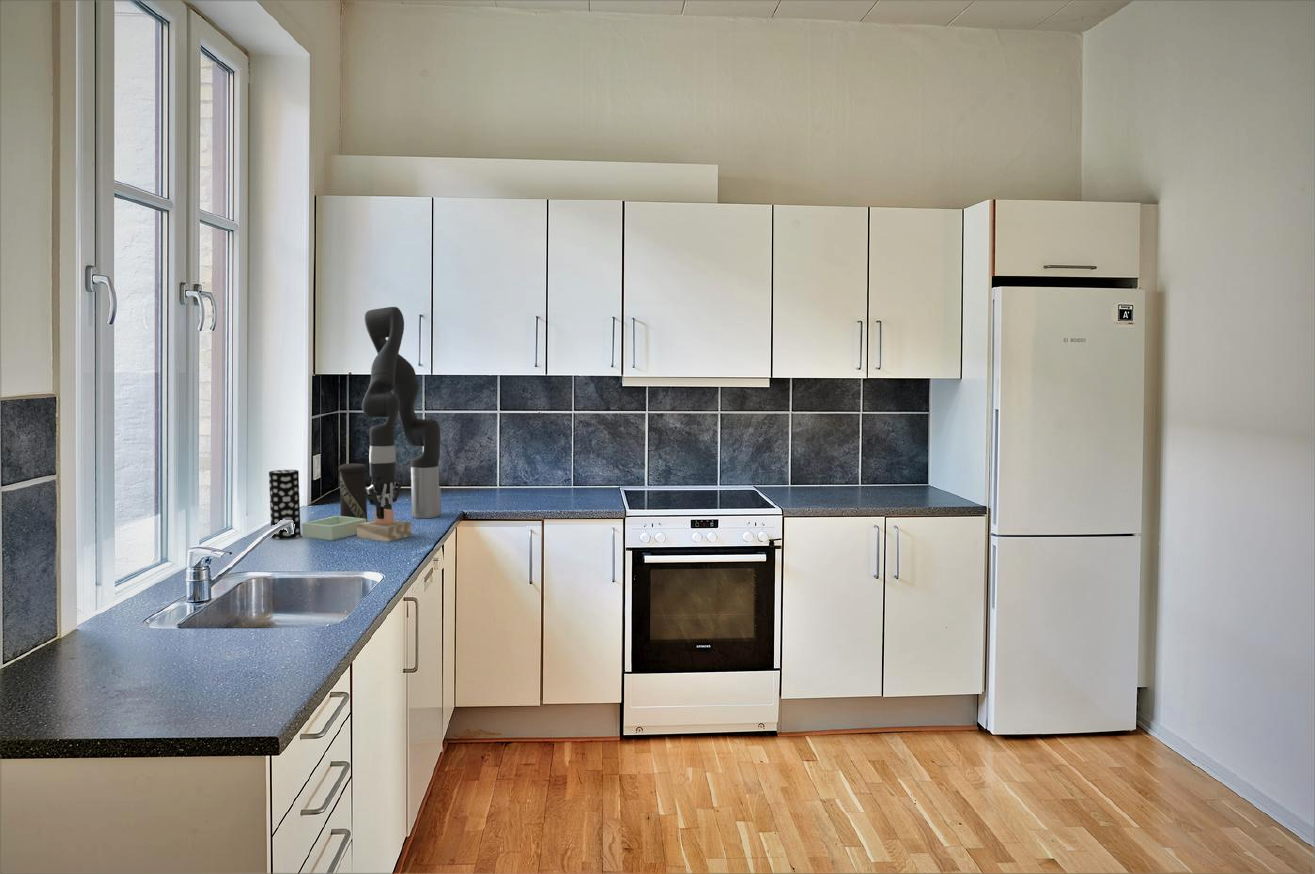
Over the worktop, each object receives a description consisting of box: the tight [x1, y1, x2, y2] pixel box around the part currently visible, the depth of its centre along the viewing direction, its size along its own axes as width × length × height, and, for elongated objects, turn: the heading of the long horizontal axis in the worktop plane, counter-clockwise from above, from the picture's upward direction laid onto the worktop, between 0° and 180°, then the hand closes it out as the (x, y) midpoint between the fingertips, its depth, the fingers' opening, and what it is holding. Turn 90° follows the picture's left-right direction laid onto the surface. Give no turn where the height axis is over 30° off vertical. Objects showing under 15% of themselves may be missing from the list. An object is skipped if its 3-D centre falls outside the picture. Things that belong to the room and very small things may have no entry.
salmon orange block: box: [374, 509, 395, 525], centre depth 275 cm, size 2×5×8 cm, turn 64°
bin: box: [301, 515, 366, 541], centre depth 278 cm, size 14×12×5 cm
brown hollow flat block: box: [356, 519, 413, 542], centre depth 275 cm, size 10×12×5 cm
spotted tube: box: [268, 469, 302, 540], centre depth 278 cm, size 8×8×20 cm
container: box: [337, 462, 368, 522], centre depth 298 cm, size 9×9×20 cm
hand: (384, 517), depth 274 cm, fingers closed on salmon orange block, 2 cm apart
